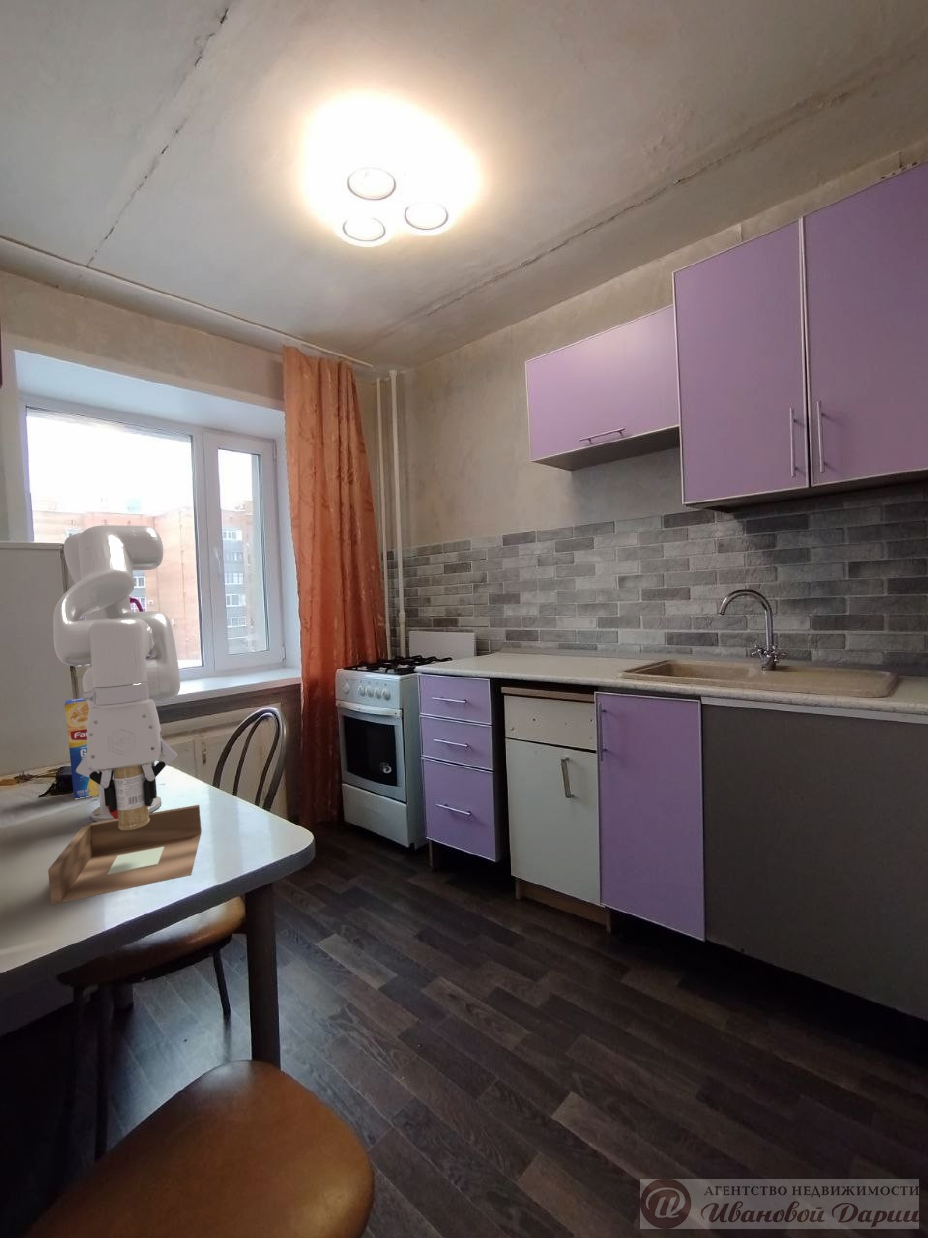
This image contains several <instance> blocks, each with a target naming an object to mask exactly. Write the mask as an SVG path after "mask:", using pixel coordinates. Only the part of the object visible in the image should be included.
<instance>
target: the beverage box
mask: <svg viewBox="0 0 928 1238" xmlns="http://www.w3.org/2000/svg"><path fill="white" fill-rule="evenodd" d="M64 709H65V716H66V718H65V719H66V727H67V728H66V729H67V739H68V749H69V758H70V760H69V761H70V769H71V770H70V772H71V781H72V788H73V789H72V791H73V799H74V798H80V797H86V796H92V797H96V796H99V793H98V783H96V782H95V781H93V780H91V779H90V778H89V777H86V776H84V775H81V774H79V773H77V772H76V769H77V767H78V766H79V764H80V763H81V761H82V760H83V758H84V757H85V755H86V754H87V722H88V713H89V707H88V704H87V700H84V698H76V699H75V698H74V699H70V700H69V699H67V700H66V701H65V703H64Z"/></svg>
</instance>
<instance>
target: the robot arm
mask: <svg viewBox="0 0 928 1238" xmlns="http://www.w3.org/2000/svg"><path fill="white" fill-rule="evenodd" d="M63 554H64V559H65V564H66V566H67V569H68V572H69V574H70V577H71V578H72V580H73V582H74V585H72V586H71V587H70V588H69V589H67V590H66V592H65V593H64V594H63V595H62V596H61V597H60V599H59V600H58V601H57V603H56V605H55V607H54V611H53V619H52V622H53V623H52V625H53V627H52V628H53V647H54V652H55V654H56V657H57V658H58V660H59V661H60V662H61V663H62V664H64V665H67V666H72V667H73V666H74V667H77V666H89V665H91V667H89V668H88V669H87V670H86V671H85V673H84V674H83V677H82V688H83V696H82V697H83V698H84V700H87V704H88V707H89V713H88V722H87V754H86V755H85V757H84V758H83V760H82V761H81V763H80V764H79V766H78V767H77V769H76V772H77V773H79V774H81V775H84V776H86V777H89V778H90V779H91V780H93V781H95V782H96V783H98V793H99V795H98V800H99V801H98V802H99V803H98V804H99V807H97V808H95V809H94V810H93V811H92V812H91V813H90V814H91V816H90V817H91V819H92V821H93V822H95V823H96V822H102V821H107V820H113V819H115V818H114V817H113V816H112V815H111V814H110V812H114V811H116V809H117V806H116V795H115V785H114V770H113V769H119V768H125V767H132V766H139V765H142V768H143V770H144V774H145V782H144V783H143V786H144V796H145V806H148V813H153V811H155V810H157V809H158V808H160V806H161V805H162V798H161V797H160V796H157V795H158V793H157V792H158V791H157V783H156V780H157V779H156V778H157V776H159V774H160V773H161V772H162V771H163V770H164V768H165V767H167V766H168V765H170V763H172V762H173V761H174V760H175V759H176V758H177V756H178V753H177V752H176V751H175V750H174V749H173V748H172V747H171V746H170V745H169V744H168V743H167V742H166V740H164V739H163V735H162V728H161V723H160V718H159V714H158V710H157V707H156V702H162V701H163V702H164V701H167V700H171V699H174V698H175V697H176V696H177V695H178V694H179V692H180V689H181V677H180V676H181V675H180V670H179V669H180V668H179V664H178V663H179V662H178V656H177V650H176V644H175V637H174V636H175V635H174V630H173V627H172V624H171V620H170V618H169V617H168V615H166V614H165V613H164V612H161V611H158V610H157V611H155V610H154V611H152V610H150V611H132V609H131V598H130V595H131V594H132V593H133V592H134V589H135V585H136V584H135V578H134V577H135V575H134V571H151V570H155V569H157V568H158V567H159V566H161V564H162V561H163V559H164V558H163V557H164V545H163V541H162V537H161V536H160V534H159V532H158V531H157V530H156V529H155V528H153V527H151V526H148V525H122V524H121V525H118V524H115V525H113V524H112V525H110V524H108V525H106V524H105V525H104V524H102V525H95V526H91V527H88V528H86V529H85V530H84V531H83V532H78V533H74V534H71V535H69V536H68V537H66V539H65V540H64V543H63ZM84 617H85V619H84V620H80V619H82V618H84ZM146 656H150V657H146ZM83 698H82V699H83ZM162 754H163V755H164V757H162V759H160V760H159V758H161V755H162ZM158 760H159V761H158ZM157 761H158V762H157ZM155 762H157V763H156V764H155ZM107 806H109V810H110V812H109V810H108V808H107Z"/></svg>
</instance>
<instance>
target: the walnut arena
mask: <svg viewBox="0 0 928 1238" xmlns="http://www.w3.org/2000/svg"><path fill="white" fill-rule="evenodd" d="M148 816H149V818H150V821H149V822H148V823H147V824H146V825H144V826H142V827H139V828H136V829H131V830H121V829H119V828H118V825H119V821H118V819H113V820H107V821H102V822H96V821H95V822H90V823H85V824H83V825H82V827H81V828H80V829H79V830H78V832H77V833H76V834H75V836H74V837H73V838H72V839H71V840H70V842H69V843H68V844H67V845H66V847H65V848H64V849H63V850H62V852H61V853H60V854H59V855H58V857H57V858H56V859H55V860H54V862H53V863H52V864H51V865H50V867H49V868H48V869H47V872H48V873H47V874H48V880H49V891H50V902H51V905H57V904H60V903H66V902H70V901H75V900H79V899H84V898H91V897H94V896H99V895H104V894H108V893H114V892H117V891H123V890H127V889H132V888H137V887H141V886H147V885H152V884H156V883H160V882H166V881H170V880H175V879H179V878H184V877H189V876H192V874H193V869H194V865H195V860H196V856H197V853H198V849H199V843H200V840H201V835H202V833H203V831H202V830H203V829H202V820H201V810H200V804H196V805H195V804H194V805H190V806H189V805H188V806H183V807H179V808H178V807H177V808H173V809H167V810H160V811H155V812H150V813H148ZM160 847H164V850H163V853H162V855H161V858H160V860H159V863H158V865H155V866H150V867H145V868H140V869H135V870H130V871H125V872H120V873H115V874H110V875H107V873H108V872H109V870H110V868H111V866H112V865H113V863H114V861H115V859H116V857H117V856H118V855H123V854H128V853H134V852H139V851H144V850H149V849H154V848H160Z"/></svg>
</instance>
